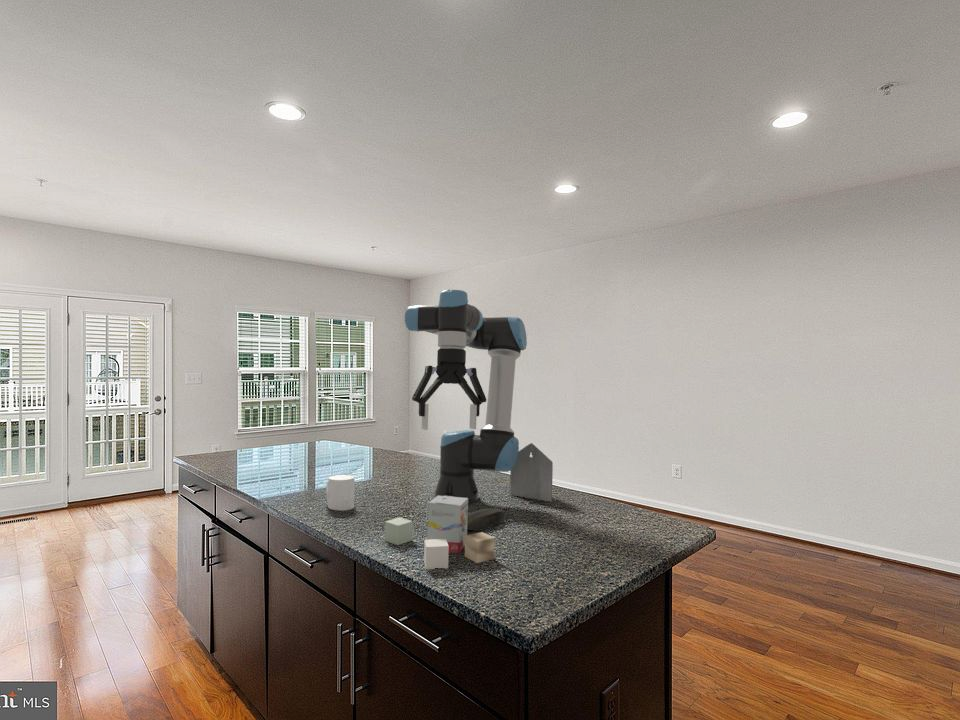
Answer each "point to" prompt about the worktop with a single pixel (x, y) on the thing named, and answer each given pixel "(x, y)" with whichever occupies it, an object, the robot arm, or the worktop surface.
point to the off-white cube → (436, 553)
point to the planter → (532, 475)
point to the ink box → (448, 521)
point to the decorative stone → (484, 518)
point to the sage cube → (398, 531)
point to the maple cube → (479, 547)
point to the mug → (340, 492)
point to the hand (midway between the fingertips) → (449, 429)
